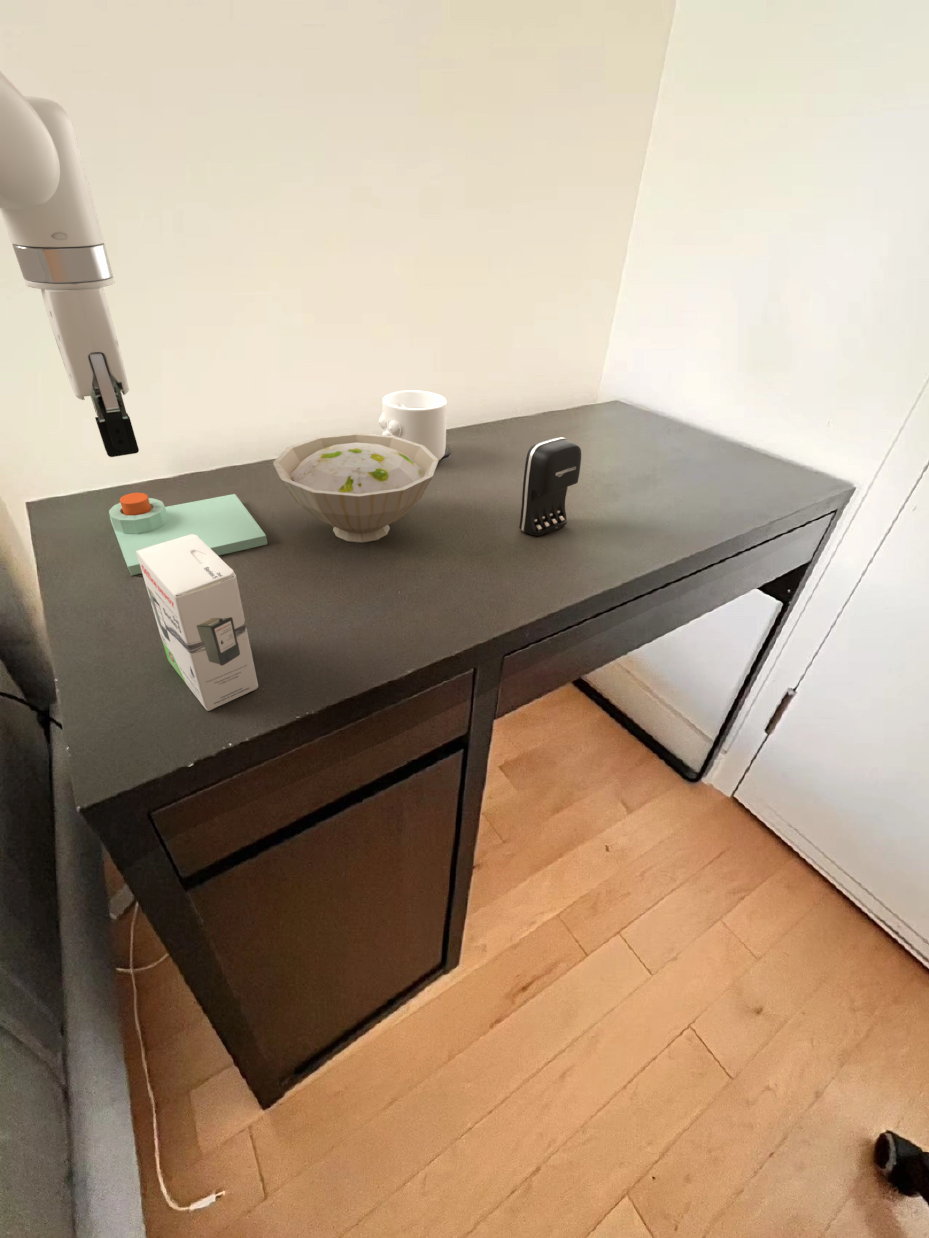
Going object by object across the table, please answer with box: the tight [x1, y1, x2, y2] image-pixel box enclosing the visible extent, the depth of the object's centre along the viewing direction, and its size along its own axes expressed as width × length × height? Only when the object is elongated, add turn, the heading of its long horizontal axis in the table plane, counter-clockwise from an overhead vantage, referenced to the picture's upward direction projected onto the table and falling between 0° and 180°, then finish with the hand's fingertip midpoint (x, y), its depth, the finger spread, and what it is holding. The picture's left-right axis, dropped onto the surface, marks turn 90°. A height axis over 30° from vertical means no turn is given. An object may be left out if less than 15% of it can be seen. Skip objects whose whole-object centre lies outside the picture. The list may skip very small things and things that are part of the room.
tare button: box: [119, 492, 151, 516], centre depth 72 cm, size 3×3×2 cm
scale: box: [108, 493, 268, 577], centre depth 73 cm, size 15×13×3 cm
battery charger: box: [518, 436, 582, 537], centre depth 76 cm, size 7×4×11 cm, turn 130°
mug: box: [378, 389, 448, 461], centre depth 95 cm, size 12×10×9 cm
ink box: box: [136, 534, 259, 712], centre depth 51 cm, size 9×5×12 cm, turn 42°
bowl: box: [272, 432, 440, 543], centre depth 75 cm, size 19×19×10 cm
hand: (122, 452), depth 69 cm, fingers closed
